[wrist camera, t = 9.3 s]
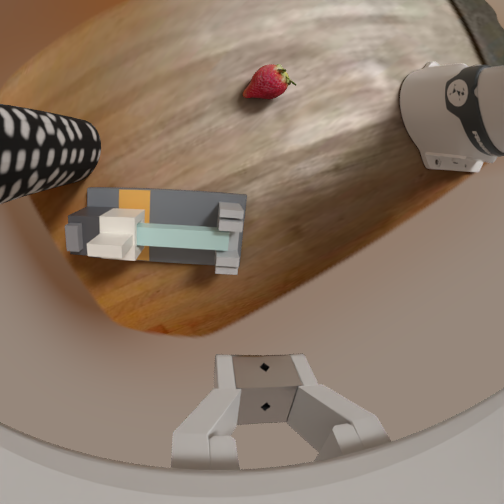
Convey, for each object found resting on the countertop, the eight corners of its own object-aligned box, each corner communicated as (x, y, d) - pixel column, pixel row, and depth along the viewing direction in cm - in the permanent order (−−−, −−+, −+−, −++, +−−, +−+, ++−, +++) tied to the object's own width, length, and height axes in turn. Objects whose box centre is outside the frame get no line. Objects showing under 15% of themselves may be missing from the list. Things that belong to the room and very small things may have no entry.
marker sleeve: (144, 209, 31) (123, 227, 23) (144, 247, 32) (124, 276, 24) (113, 208, 30) (83, 225, 22) (114, 245, 32) (87, 272, 24)
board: (245, 194, 34) (246, 195, 33) (238, 263, 37) (239, 266, 36) (90, 187, 31) (87, 188, 30) (92, 254, 34) (89, 257, 33)
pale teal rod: (228, 228, 32) (229, 232, 30) (226, 245, 32) (227, 250, 30) (93, 220, 29) (87, 224, 27) (94, 237, 30) (87, 242, 28)
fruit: (233, 81, 29) (237, 69, 25) (277, 65, 29) (287, 52, 25) (248, 110, 31) (254, 102, 26) (292, 93, 31) (304, 84, 26)
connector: (115, 207, 31) (94, 219, 25) (115, 241, 33) (97, 260, 26) (87, 206, 31) (63, 218, 24) (88, 240, 32) (66, 257, 26)
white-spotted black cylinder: (57, 116, 27) (-50, 103, 8) (108, 123, 29) (8, 99, 10) (44, 177, 29) (-63, 207, 10) (93, 187, 31) (-10, 226, 12)
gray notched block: (239, 203, 33) (244, 212, 28) (233, 258, 36) (237, 276, 30) (219, 201, 33) (220, 210, 28) (214, 257, 35) (215, 275, 30)
